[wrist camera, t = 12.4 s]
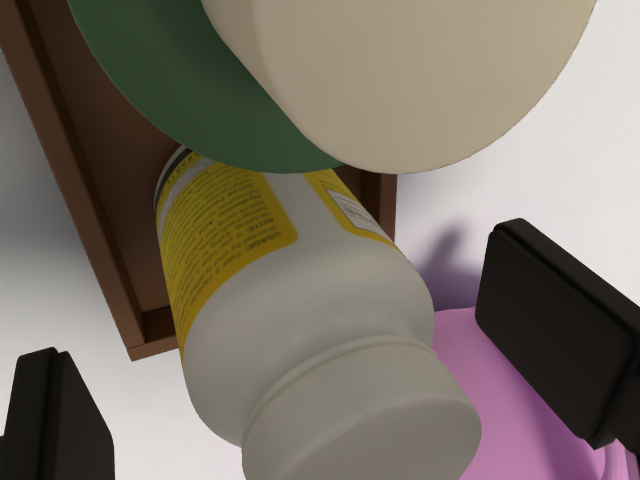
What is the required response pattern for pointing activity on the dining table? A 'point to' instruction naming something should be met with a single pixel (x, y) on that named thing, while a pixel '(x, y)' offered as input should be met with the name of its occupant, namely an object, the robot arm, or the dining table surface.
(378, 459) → the supplement bottle
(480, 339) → the teapot
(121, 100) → the tray
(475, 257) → the dining table surface
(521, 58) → the green bottle
